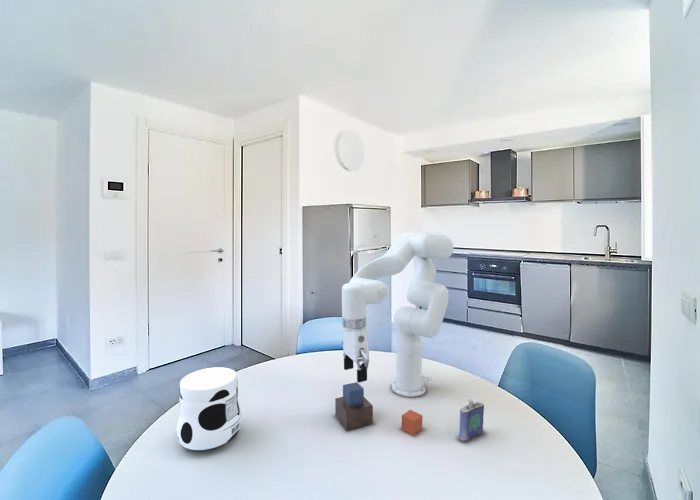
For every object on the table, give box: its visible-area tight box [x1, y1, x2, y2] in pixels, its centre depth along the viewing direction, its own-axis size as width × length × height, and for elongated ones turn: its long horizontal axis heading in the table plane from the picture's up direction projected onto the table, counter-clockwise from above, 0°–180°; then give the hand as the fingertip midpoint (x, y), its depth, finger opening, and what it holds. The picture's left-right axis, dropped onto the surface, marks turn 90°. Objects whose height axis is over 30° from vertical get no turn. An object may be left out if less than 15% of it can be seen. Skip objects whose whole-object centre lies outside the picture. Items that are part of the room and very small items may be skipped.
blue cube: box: [342, 381, 365, 407], centre depth 108 cm, size 5×5×5 cm
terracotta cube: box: [401, 409, 423, 436], centre depth 103 cm, size 4×4×4 cm
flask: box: [458, 398, 485, 443], centre depth 100 cm, size 9×3×11 cm, turn 121°
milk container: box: [176, 366, 242, 452], centre depth 98 cm, size 17×17×18 cm
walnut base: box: [334, 396, 374, 432], centre depth 108 cm, size 9×9×6 cm
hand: (355, 374), depth 108 cm, fingers open, 9 cm apart
